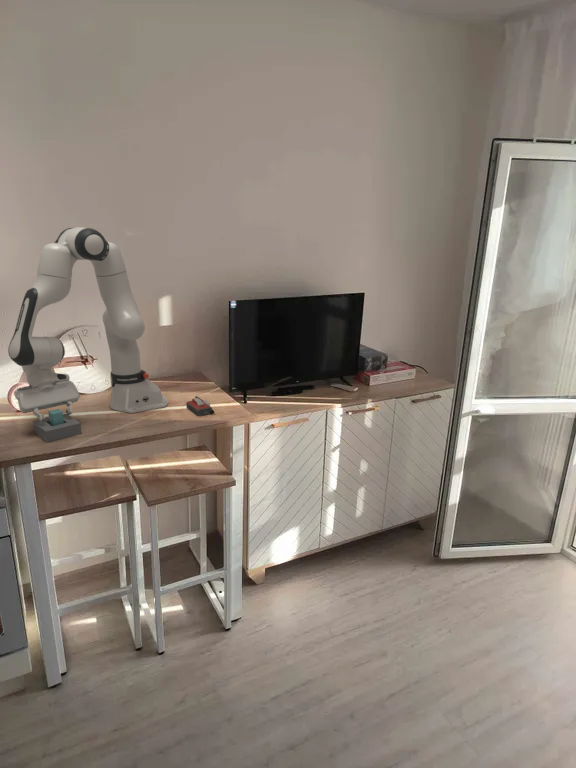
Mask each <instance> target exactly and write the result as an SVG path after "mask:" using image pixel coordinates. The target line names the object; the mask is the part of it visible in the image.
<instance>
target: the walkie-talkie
mask: <svg viewBox="0 0 576 768" xmlns="http://www.w3.org/2000/svg"><path fill="white" fill-rule="evenodd" d="M186 409H187V410H189V411H190V412H191V413H192V414H194V415H195V416H196V417H203V416H209V415H213V414H215V411H214V410H213V407H212V406H211V402H209V401H208V400H206V399H205V400H203V399H202V398H200V397H199V396H197V395H196V396H195V397H194V398H192V399H191V400H188V401H187V402H186Z"/></svg>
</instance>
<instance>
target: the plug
mask: <svg viewBox="0 0 576 768" xmlns="http://www.w3.org/2000/svg"><path fill="white" fill-rule="evenodd" d="M63 414H64V413H63V411H62V410H61V409H59V408H57V409H52V410H48V418H49V422H50V425H51V426H55V425H59V424H63V423H64V419H63Z"/></svg>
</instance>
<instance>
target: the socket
mask: <svg viewBox="0 0 576 768" xmlns="http://www.w3.org/2000/svg"><path fill="white" fill-rule="evenodd" d="M63 419H64V423H63V424H59V425H55V426H51V425H50V422H49V417H45V420H44V421H40V420H39V419H35V420H32V428H33V433H35V434H36V435H37V436H38V437H40V438H41V439H42V440H43V441H45V442H46V443H50V441H51V442H54V441H58V439H59V440H62V439H65V438H70V437H74V436H77V434H78V435H82V424H81V422H79V421H78V420H77V419H75V418H74V417H72V416H71V415H67V413H66V412H65V413H63Z"/></svg>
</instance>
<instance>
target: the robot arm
mask: <svg viewBox="0 0 576 768" xmlns="http://www.w3.org/2000/svg"><path fill="white" fill-rule="evenodd" d="M79 260H81V261H82V260H83V261H84V260H85V261H87V260H88V261H90V262H91V264H92V266H93V269H94V273H95V278H96V282H97V286H98V289H99V294H100V297H101V299H102V301H103V304H104V306H105V308H106V309H105V310H104V312H103V314H102V322H103V325H104V330H105V335H106V336H105V337H106V341H107V345H108V348H109V349H108V350H109V354H110V355H109V357H110V367H111V369H110V370H111V372H110V385H111V398H110V402H109V403H110V404H109V407H110V409H112V410H114V411H118V412H125V413H128V414H134V413H139V412H146V411H150V410H151V411H152V410H155V409H162V408H166V407H167V406H168V405H169V402H168V399H167V397H166V396H164V395H163V394H162V390H161V389H160V387H159V386H158V385H157V384H156V383H154V382H152V381H151V380H149V377H150V375H149V374H148V373H147V372H146V371H145V370H144V369H141V354H140V353H141V352H140V349H139V347H138V343H137V340H139V339H140V338H141V337H143V335H144V333H145V323H144V321H143V319H142V316H141V313H140V311H139V308H138V305H137V302H136V301H135V298H134V295H133V293H132V289H131V286H130V284H131V283H130V281H129V276H128V272H127V267H126V265H125V261H124V259H123V255H122V253H121V250H120V249H119V247H118V245H117V244H116V243H114V242H111V241H107V240H106V238H105V237H104V235H103V234H102V233H101V232H99V231H98V230H96V229H95V228H91V227H90V228H89V227H84V226H77V227H68V228H66V229H63V230H62V231H61V232H60V234H59V235H58V237H57V238H56V240H55V241H54V242H50V243H48V244H45V245H44V246H43V248H42V249H41V253H40V256H39V259H38V265H37V266H38V267H37V272H36V279H35V281H34V284H33V285H32V287H31V288H30V289H29V288H28V290H27V291H25V294H24V297H23V300H22V302H21V306H20V310H19V314H18V318H17V322H16V325H15V329H14V332H13V336H12V338H11V339H10V343H9V345H8V351H7V352H8V356H9V358H10V360H12V361H13V362H14V364H16V365H18V366H20V367H21V369H22V371H23V372H24V374H25V376H26V381H27V384H28V386H27V385H26V386H22V387H17V388H16V389H15V390H14V392H13V394H14V397H15V399H16V400H17V404H18V407H19V411H20V412H21V413H22V414H27V413H32V414H33V415H34V416H36V417H37V418H38V420H40V421H44V420H45V418H46V416H45V414H43V413H41V412H40V411H41V410H47V409H51V408H55V407H60V406H64V405H66V407H68V408H66V410H65V414H66V413H67V415H69V416H71V415H72V414H73V410H72V406H73V404H74V403H77V402H78V400H79V399H80V395H81V394H80V391H79V390H78V388H77V386H76V384H75V383H74V382H73V381H71V380H70V375H69V374H67V373H59V372H58V373H57V372H53V370H52V367H55V366H57V364H59V363H61V361H62V360H63V359H64V357H65V354H66V350H65V346H64V344H63V342H62V341H61V340H60V338H59V337H53V336H33V333H34V328H35V324H36V320H37V316H38V314H39V312H40V311H41V310H42V309H44V308H46V307H47V306H50V305H53V304H56V303H59V302H61V301H63V300H64V299H65V298H66V297H68V296H69V294H70V290H71V287H72V277H73V267H74V265H75V264H76V262H77V261H79Z"/></svg>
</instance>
